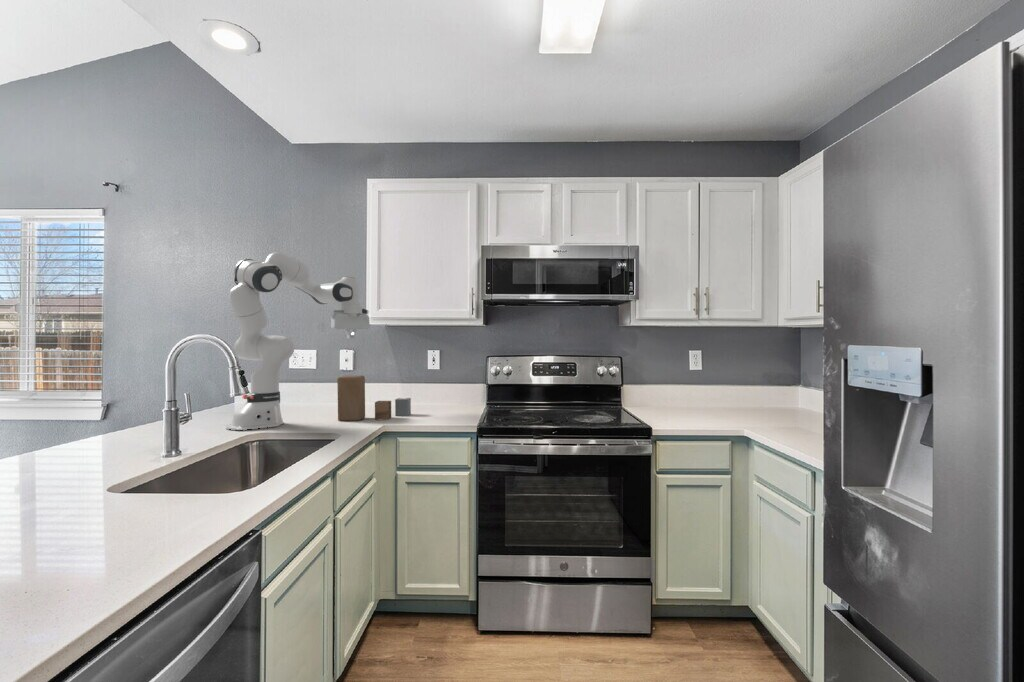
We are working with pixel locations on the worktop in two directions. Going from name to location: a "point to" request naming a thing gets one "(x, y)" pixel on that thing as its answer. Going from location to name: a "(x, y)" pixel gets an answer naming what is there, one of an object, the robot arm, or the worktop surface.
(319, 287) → the robot arm
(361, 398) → the block
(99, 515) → the worktop surface
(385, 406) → the brown upright block
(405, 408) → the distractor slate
